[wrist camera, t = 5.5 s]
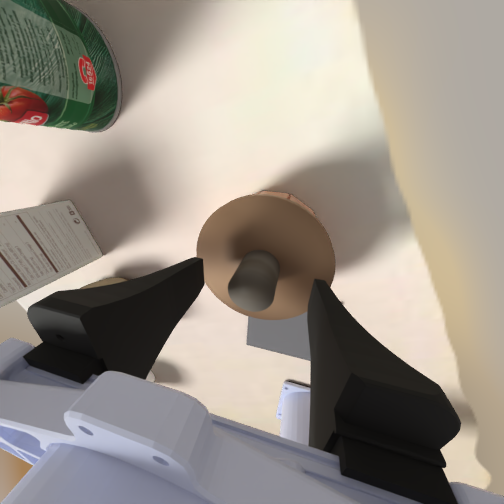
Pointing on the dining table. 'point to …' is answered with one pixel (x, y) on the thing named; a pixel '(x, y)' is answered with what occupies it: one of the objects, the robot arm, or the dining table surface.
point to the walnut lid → (265, 256)
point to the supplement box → (41, 247)
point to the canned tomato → (56, 67)
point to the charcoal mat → (281, 335)
